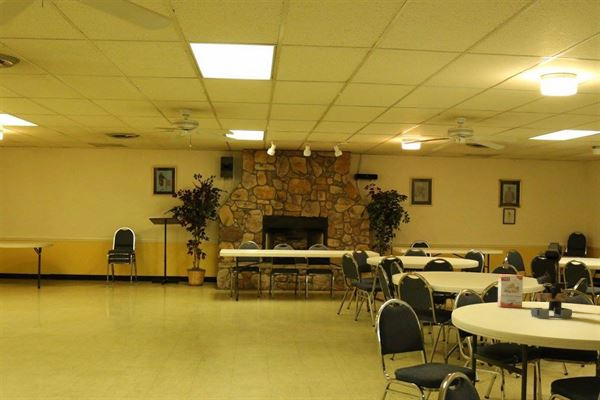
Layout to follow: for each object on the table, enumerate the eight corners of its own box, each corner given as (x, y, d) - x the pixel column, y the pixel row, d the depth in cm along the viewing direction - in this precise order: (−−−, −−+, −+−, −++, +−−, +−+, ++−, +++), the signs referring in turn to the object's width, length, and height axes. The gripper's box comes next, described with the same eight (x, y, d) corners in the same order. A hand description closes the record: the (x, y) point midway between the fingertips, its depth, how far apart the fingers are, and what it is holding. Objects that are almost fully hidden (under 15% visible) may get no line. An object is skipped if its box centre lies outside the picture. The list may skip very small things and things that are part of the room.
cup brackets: (564, 316, 329) (564, 307, 330) (573, 318, 322) (573, 309, 322) (530, 316, 326) (530, 307, 326) (537, 318, 318) (537, 309, 319)
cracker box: (500, 307, 356) (501, 274, 357) (497, 306, 362) (497, 273, 363) (522, 308, 355) (523, 275, 356) (519, 306, 362) (519, 274, 362)
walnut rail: (562, 300, 327) (562, 293, 327) (565, 301, 324) (565, 294, 324) (536, 300, 325) (536, 293, 325) (540, 301, 321) (540, 294, 322)
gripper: (530, 270, 333) (529, 296, 332) (548, 273, 314) (547, 301, 314) (547, 270, 334) (547, 296, 334) (566, 273, 316) (566, 301, 316)
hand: (551, 298), depth 324 cm, fingers closed on walnut rail, 3 cm apart
